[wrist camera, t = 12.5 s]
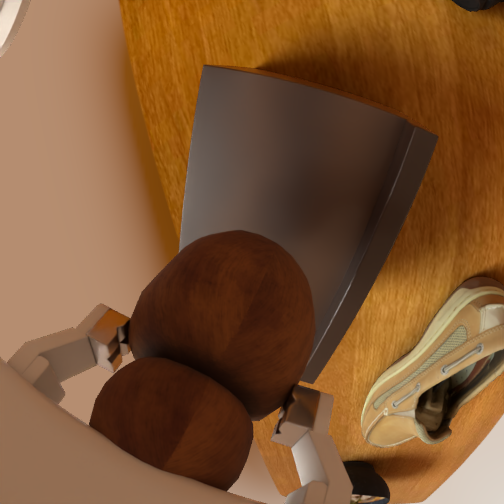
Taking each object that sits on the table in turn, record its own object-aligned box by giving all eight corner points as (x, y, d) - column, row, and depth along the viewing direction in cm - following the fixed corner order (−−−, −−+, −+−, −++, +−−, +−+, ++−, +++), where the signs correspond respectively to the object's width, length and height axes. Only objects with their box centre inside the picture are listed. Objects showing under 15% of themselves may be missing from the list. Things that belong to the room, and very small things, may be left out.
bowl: (405, 456, 45) (401, 501, 36) (379, 481, 54) (373, 518, 45) (321, 448, 49) (309, 494, 41) (309, 474, 58) (299, 510, 50)
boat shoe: (347, 415, 41) (335, 480, 32) (438, 257, 25) (464, 344, 16) (406, 425, 39) (402, 487, 30) (516, 280, 23) (553, 359, 14)
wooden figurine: (181, 268, 17) (8, 501, 5) (223, 186, 14) (-51, 499, 2) (282, 332, 18) (178, 592, 5) (346, 267, 14) (254, 642, 2)
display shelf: (218, 249, 32) (160, 327, 23) (253, 68, 22) (181, 63, 13) (331, 288, 31) (312, 385, 21) (399, 111, 21) (439, 136, 11)
